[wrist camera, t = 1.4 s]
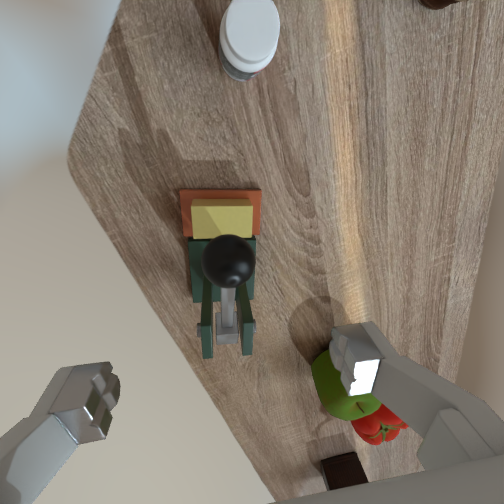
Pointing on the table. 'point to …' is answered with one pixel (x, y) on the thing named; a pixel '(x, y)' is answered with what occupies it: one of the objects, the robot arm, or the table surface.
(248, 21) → the pill bottle
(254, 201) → the butter
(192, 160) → the table surface
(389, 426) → the tomato
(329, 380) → the apple
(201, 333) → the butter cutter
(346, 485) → the coffee grinder
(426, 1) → the coffee cup
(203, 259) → the blade lever
